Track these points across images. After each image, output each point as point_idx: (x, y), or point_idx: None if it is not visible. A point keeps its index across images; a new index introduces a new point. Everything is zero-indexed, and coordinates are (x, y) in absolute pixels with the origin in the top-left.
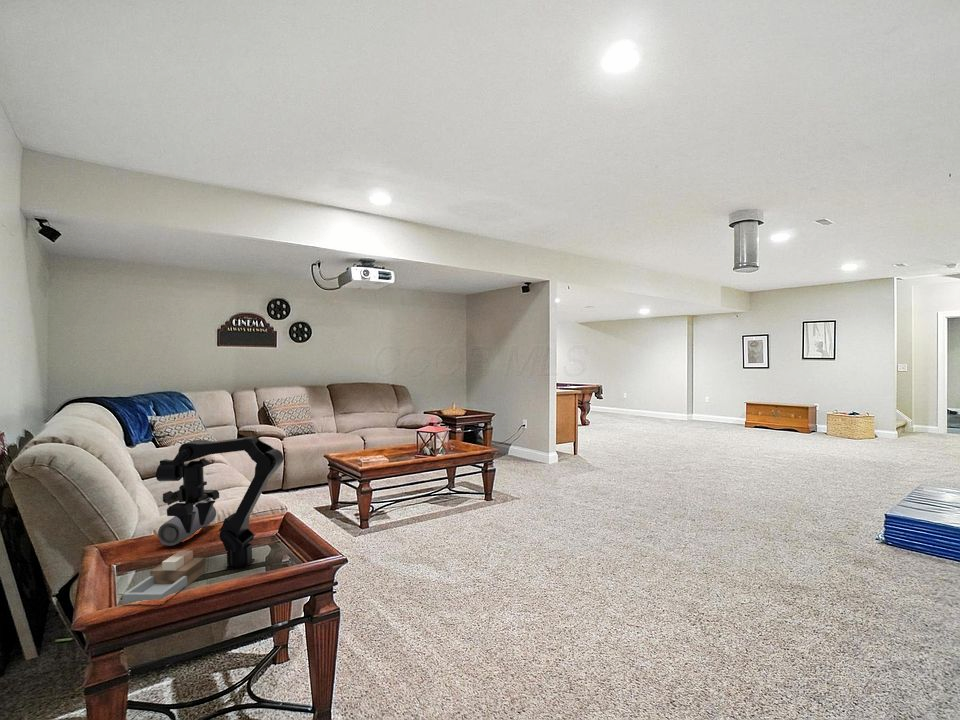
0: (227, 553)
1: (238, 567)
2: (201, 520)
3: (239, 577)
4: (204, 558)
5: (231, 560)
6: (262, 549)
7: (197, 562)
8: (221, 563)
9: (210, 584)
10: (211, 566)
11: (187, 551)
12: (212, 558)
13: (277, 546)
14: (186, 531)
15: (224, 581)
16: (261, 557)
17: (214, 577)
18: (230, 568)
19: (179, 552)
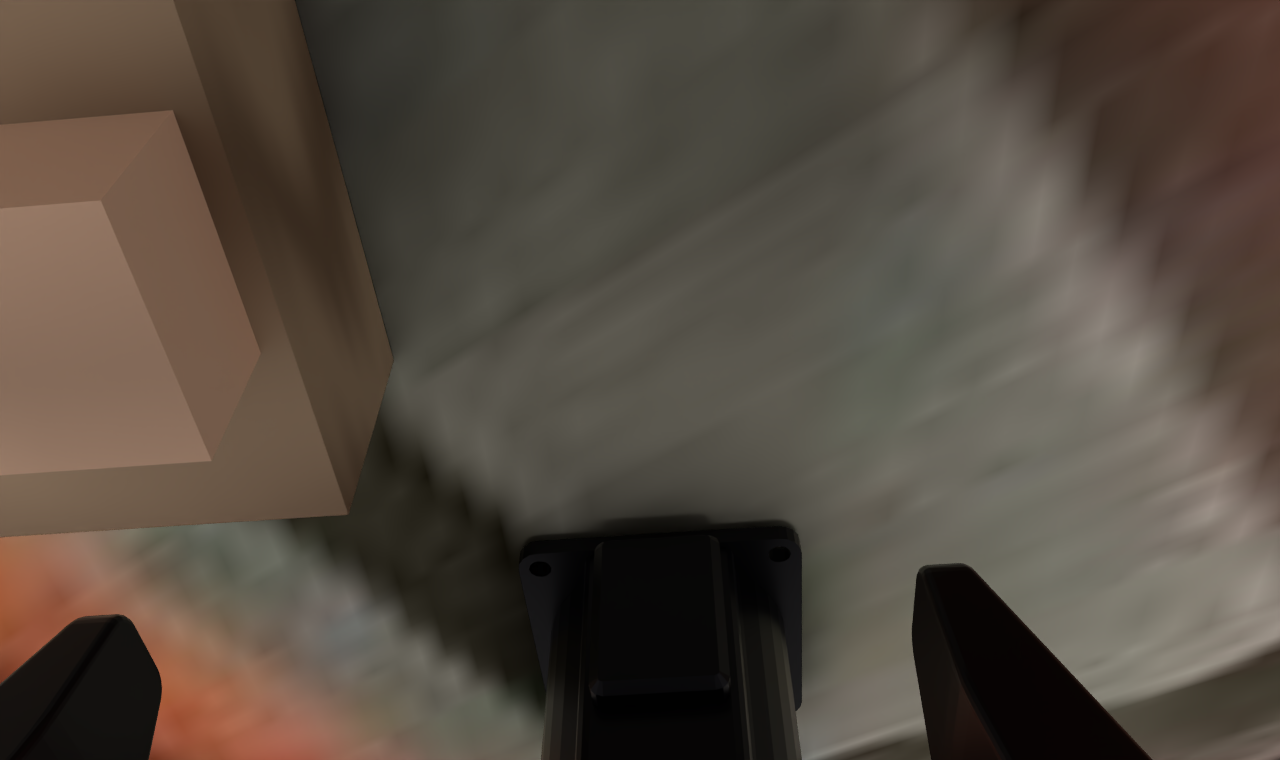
0: (588, 683)
1: (545, 673)
2: (948, 750)
3: (366, 738)
4: (336, 510)
5: (561, 664)
6: (1166, 621)
7: (148, 517)
8: (704, 395)
9: (125, 592)
10: (589, 324)
11: (126, 398)
12: (903, 152)
13: (1232, 716)
14: (36, 679)
15: (240, 670)
16: (894, 706)
17: (290, 539)
18: (527, 598)
19: (7, 265)
